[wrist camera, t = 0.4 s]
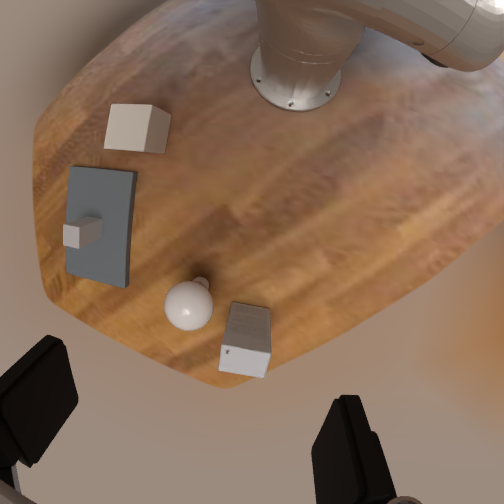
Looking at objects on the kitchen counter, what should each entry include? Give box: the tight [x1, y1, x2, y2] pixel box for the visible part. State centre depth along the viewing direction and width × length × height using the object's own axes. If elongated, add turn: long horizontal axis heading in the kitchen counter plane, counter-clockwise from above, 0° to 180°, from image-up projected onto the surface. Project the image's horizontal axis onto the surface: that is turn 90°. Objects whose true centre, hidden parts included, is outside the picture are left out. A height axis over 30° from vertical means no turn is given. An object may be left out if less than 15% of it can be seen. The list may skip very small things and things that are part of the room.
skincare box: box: [218, 302, 271, 378], centre depth 40 cm, size 6×4×12 cm
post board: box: [63, 166, 137, 289], centre depth 39 cm, size 18×12×8 cm, turn 170°
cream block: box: [104, 104, 172, 154], centre depth 35 cm, size 6×6×8 cm
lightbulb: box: [164, 277, 214, 331], centre depth 39 cm, size 6×6×11 cm
